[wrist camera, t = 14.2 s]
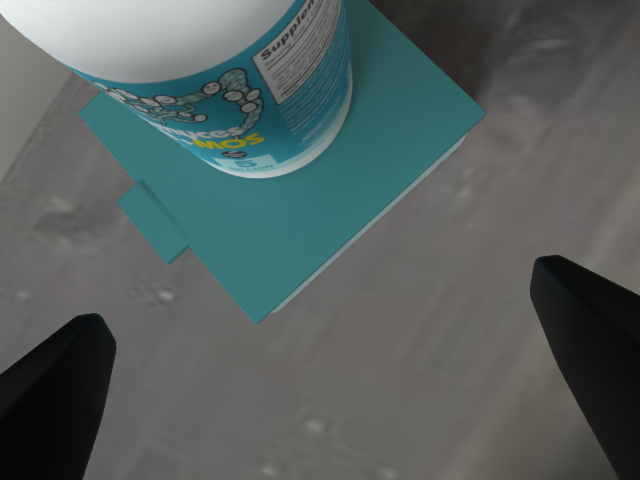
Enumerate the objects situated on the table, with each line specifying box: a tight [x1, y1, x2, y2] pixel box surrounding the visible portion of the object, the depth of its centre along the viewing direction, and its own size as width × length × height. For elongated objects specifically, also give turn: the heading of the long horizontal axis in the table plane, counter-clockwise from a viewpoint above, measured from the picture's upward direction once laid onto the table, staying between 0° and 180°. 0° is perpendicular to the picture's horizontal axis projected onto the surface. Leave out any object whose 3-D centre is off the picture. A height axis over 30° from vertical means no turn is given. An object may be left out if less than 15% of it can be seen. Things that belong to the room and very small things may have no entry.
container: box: [78, 0, 487, 325], centre depth 20 cm, size 14×12×4 cm
